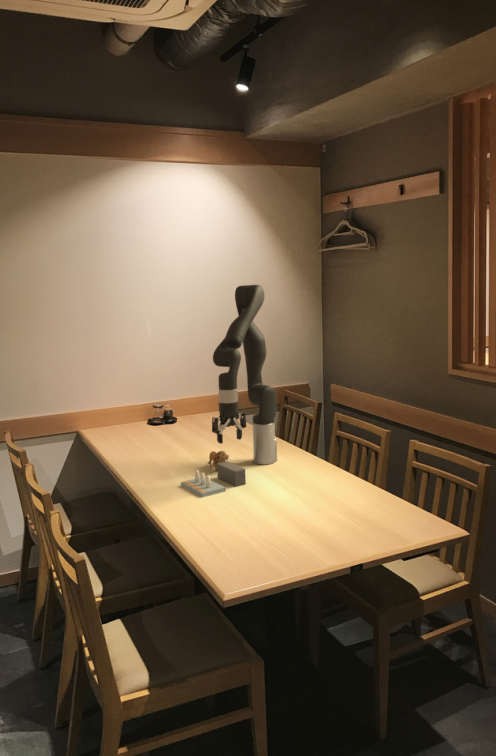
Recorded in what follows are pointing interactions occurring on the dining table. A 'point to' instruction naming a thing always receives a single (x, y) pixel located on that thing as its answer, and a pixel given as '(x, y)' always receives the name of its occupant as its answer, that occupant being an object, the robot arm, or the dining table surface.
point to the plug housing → (231, 473)
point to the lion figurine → (217, 458)
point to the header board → (202, 485)
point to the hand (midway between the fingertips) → (229, 441)
